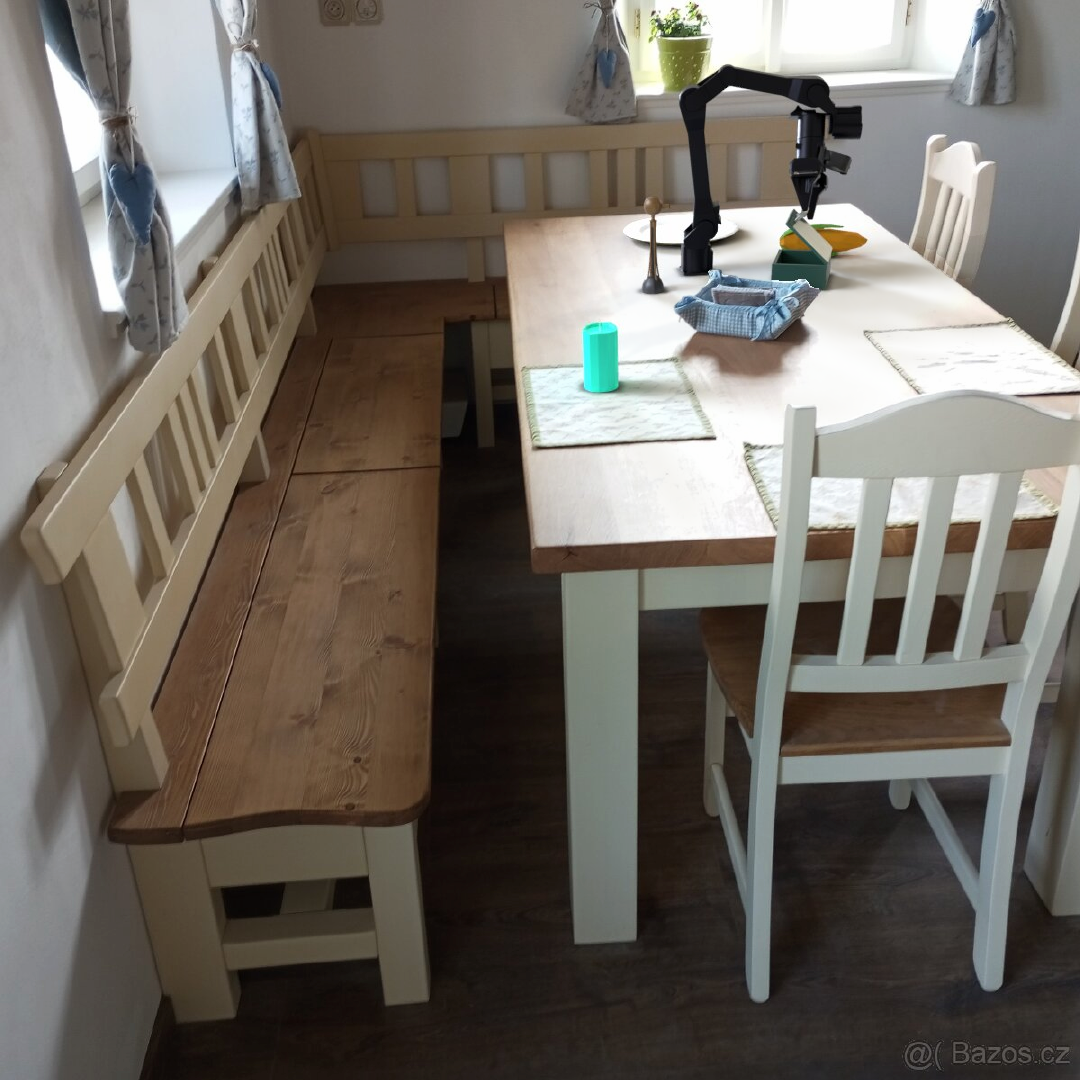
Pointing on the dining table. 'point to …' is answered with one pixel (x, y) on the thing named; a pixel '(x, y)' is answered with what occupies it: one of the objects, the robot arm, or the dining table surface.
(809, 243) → the lid
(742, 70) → the robot arm
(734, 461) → the dining table surface
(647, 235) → the plate
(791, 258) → the chest
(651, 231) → the wooden tabletop sculpture
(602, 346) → the candle
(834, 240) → the corn
